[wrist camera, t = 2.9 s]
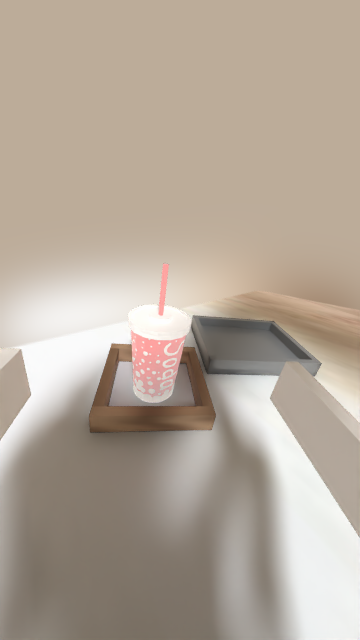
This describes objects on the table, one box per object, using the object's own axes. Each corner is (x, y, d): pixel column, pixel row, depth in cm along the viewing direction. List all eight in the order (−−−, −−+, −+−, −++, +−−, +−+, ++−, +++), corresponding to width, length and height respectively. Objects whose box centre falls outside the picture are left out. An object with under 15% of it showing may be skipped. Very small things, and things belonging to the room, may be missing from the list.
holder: (192, 359, 30) (194, 347, 29) (211, 429, 20) (215, 415, 19) (112, 356, 28) (111, 343, 27) (90, 432, 18) (88, 416, 17)
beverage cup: (132, 415, 20) (139, 272, 14) (121, 374, 25) (123, 254, 19) (188, 401, 23) (214, 274, 17) (168, 366, 28) (183, 258, 22)
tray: (269, 331, 41) (273, 321, 40) (314, 376, 30) (321, 363, 29) (190, 326, 39) (192, 315, 38) (207, 373, 27) (210, 359, 26)
